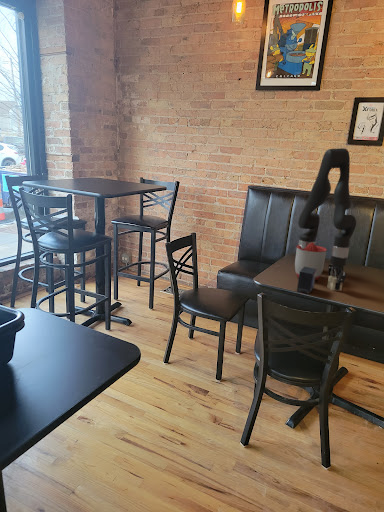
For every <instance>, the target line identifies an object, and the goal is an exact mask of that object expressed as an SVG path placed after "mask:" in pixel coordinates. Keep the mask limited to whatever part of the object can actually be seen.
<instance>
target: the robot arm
mask: <svg viewBox="0 0 384 512" xmlns="http://www.w3.org/2000/svg"><path fill="white" fill-rule="evenodd" d="M350 163H351V158H350V152H349V151H348V149H347V148H329V149H326V151H325V152H324V154H323V157H322V159H321V162H320V166H319V170H318V173H317V176H316V178H315V181H314V183H313V186H312V188H311V191H310V193H309V195H308V198H307V201H306V203H305V205H304V206H303V209H302V211H301V213H300V215H299V217H298V221H297V222H298V227H299V228H301V229H303V230H308V231H306V232H304V233H302V234H301V233H300V234H299V239H298V245H300V246H301V248H302V249H303V248H305V247H306V246H307V245H308V244H310V243H311V242H313V243H314V244H315V245H316V240H317V237H318V232H319V228H320V221H321V220H320V215H319V213H316V212H314V211H315V210H316V209H318V208H319V207H320V206H322V205H323V204H324V203H326V201H327V200H328V197H329V195H330V193H331V190H332V185H331V182H330V178H329V175H330V171H331V170H332V169H339V179H338V181H337V184H336V186H335V188H334V191H333V200H334V213H333V220H332V223H333V226H334V228H335V229H337V230H339V231H340V232H339V233H337V234H335V235H334V239H333V246H332V249H331V254H330V255H331V256H330V262H329V263H330V264H328V272H327V273H328V274H327V275H328V277H329V276H335V278H336V284H335V289H336V290H335V291H340V290H339V289H340V284H341V283H345V279H346V277H347V271H344V269H345V268H344V267H345V266H347V263H348V256H349V249H350V248H349V247H350V242H351V238H352V235H353V234H354V232H355V229H356V227H357V218H356V217H355V216H354V215H353V214H346V211H348V210H349V209H350V208H351V207H352V205H351V195H350V168H351V167H350V165H351V164H350ZM338 278H339V279H338Z"/></svg>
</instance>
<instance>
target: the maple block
mask: <svg viewBox="0 0 384 512" xmlns="http://www.w3.org/2000/svg"><path fill="white" fill-rule="evenodd" d="M327 279H328V280H327V286H326V287H327V288H328V289H329V290H330V291H337V290H336V289H335V284H336V278H335V276H328V278H327ZM338 279H339V278H338ZM342 289H343V283H341V284H340V289H339V290H338V291H342Z"/></svg>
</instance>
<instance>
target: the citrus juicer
mask: <svg viewBox="0 0 384 512" xmlns="http://www.w3.org/2000/svg"><path fill="white" fill-rule="evenodd" d="M326 253H327V248H326V247H323V246H320V245H316V243H315V244H314V243H313V242H311V243H310V244H308V245H307V246H306V247H305V248H303V249H302V248H301V246H300V245H299V244H297V245H296V253H295V260H294V269H295V275H296V277H297V278H298V279H299V273H300V271H301V270H302V269H303V268H304V267H309V268H314V269H317V270H316V277H315V281H317V280H319V279H320V278H321V276H322V273H323V271H324V267H325V262H326V260H325V259H326Z"/></svg>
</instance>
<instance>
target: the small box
mask: <svg viewBox="0 0 384 512" xmlns="http://www.w3.org/2000/svg"><path fill="white" fill-rule="evenodd" d="M316 270H317V269H314V268H309V267H304V268H303V269H302V270H301V271H300V273H299V278H298V280H297V281H298V282H297V286H296V292H299V293H304V294H307V295H309V294H311V292H313V291H312V290H313V289H314V288H315V282H316V280H315V277H316Z"/></svg>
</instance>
